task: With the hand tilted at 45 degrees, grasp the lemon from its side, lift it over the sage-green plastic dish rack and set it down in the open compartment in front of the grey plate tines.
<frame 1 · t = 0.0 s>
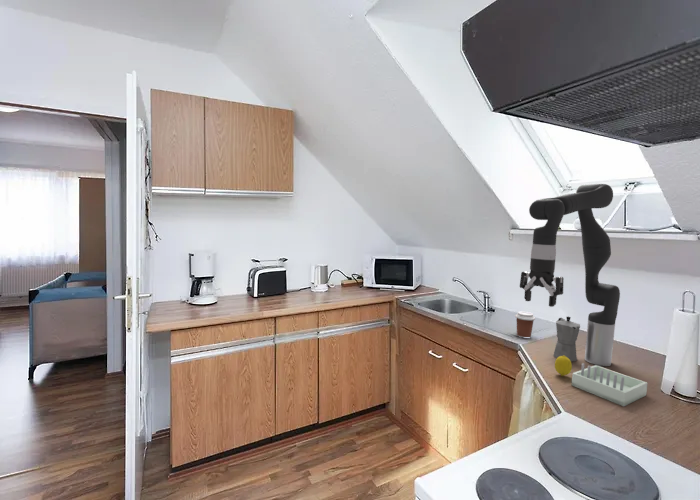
hand: (539, 303, 124), 29 cm above the counter, tool pointing down, fingers open, 8 cm apart
coffeepot: (563, 356, 154), on the counter
coffee cup: (523, 336, 180), on the counter
dish rack: (607, 390, 123), on the counter
lemon: (562, 376, 134), on the counter
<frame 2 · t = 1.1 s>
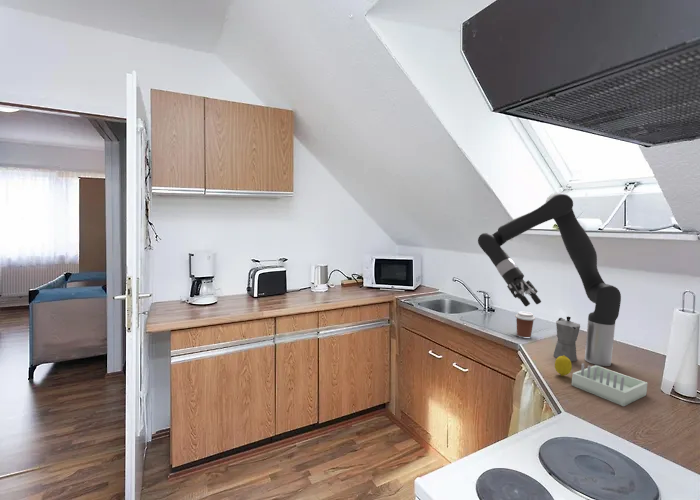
hand: (533, 304, 143), 25 cm above the counter, tool tilted 45°, fingers open, 8 cm apart
nothing on the counter moved.
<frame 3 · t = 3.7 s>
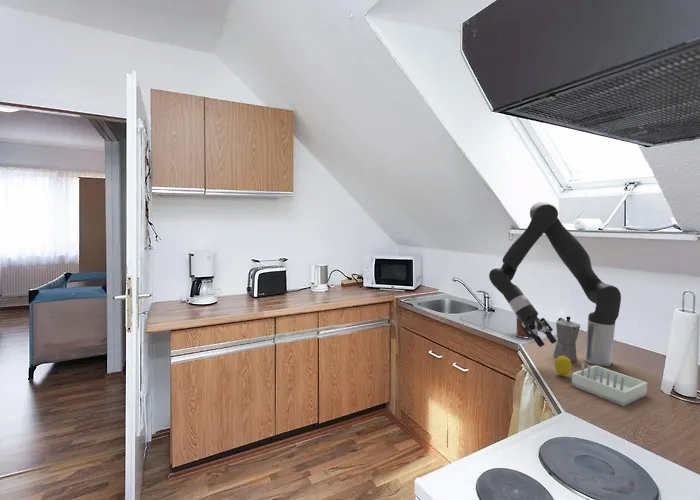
hand: (548, 344, 138), 10 cm above the counter, tool tilted 45°, fingers open, 8 cm apart
nothing on the counter moved.
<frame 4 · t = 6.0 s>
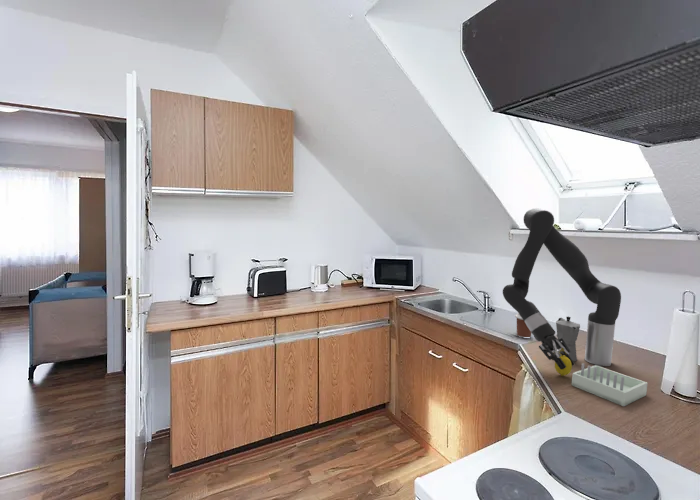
hand: (568, 366, 132), 4 cm above the counter, tool tilted 45°, fingers closed on lemon, 5 cm apart
lemon: (562, 376, 134), on the counter, touching gripper
everything else where it was.
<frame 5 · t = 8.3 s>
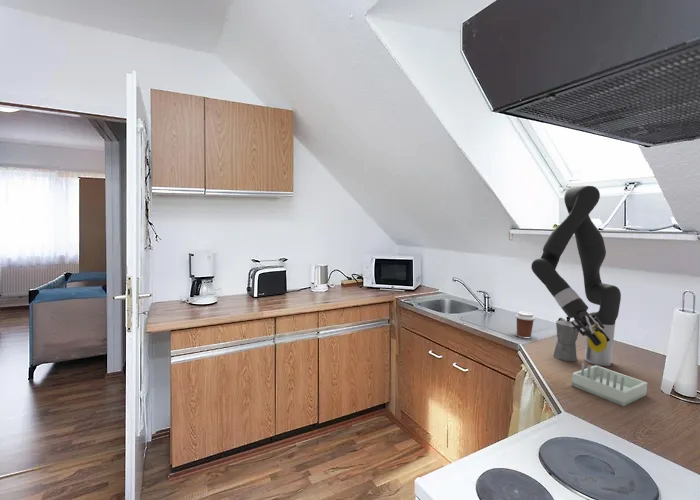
hand: (603, 343, 125), 16 cm above the counter, tool tilted 45°, fingers closed on lemon, 5 cm apart
lemon: (596, 353, 127), point 11 cm above the counter, touching gripper
everything else where it was.
when the fingers open (7 cm above the counter, at t = 10.9 s): lemon drops 1 cm, resting on dish rack.
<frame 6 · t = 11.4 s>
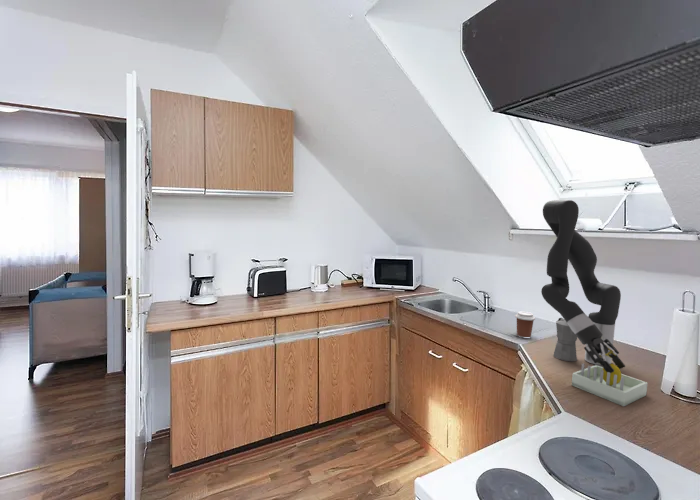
hand: (617, 370, 123), 7 cm above the counter, tool tilted 45°, fingers open, 8 cm apart
lemon: (610, 386, 124), point 1 cm above the counter, touching dish rack
everything else where it was.
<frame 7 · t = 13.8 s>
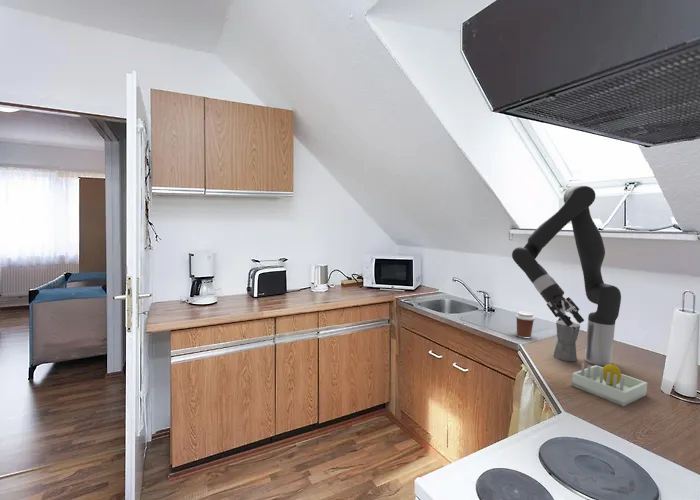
hand: (576, 323, 134), 20 cm above the counter, tool tilted 45°, fingers open, 8 cm apart
nothing on the counter moved.
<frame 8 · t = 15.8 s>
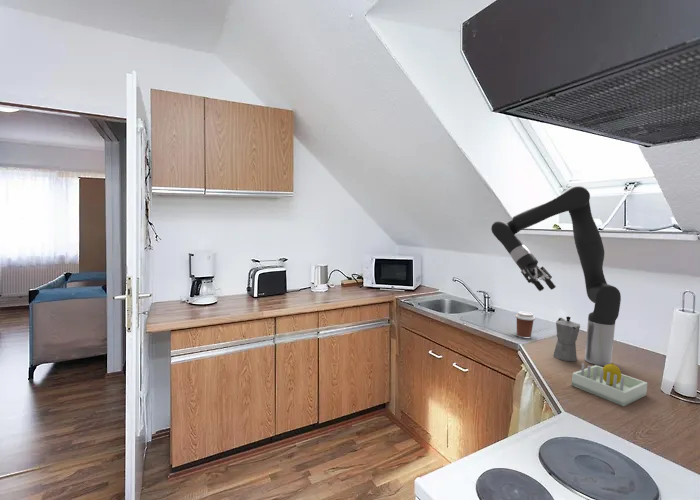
hand: (547, 289, 144), 31 cm above the counter, tool tilted 45°, fingers open, 8 cm apart
nothing on the counter moved.
at the end: lemon inside the target area on the dish rack (0.8 cm from its centre), point 1.0 cm above the dish rack's base; the gripper is holding nothing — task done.
